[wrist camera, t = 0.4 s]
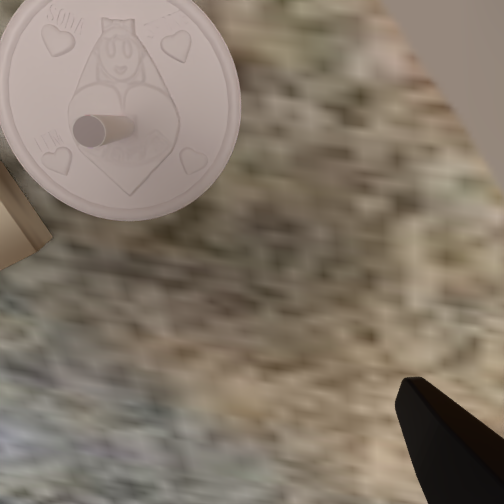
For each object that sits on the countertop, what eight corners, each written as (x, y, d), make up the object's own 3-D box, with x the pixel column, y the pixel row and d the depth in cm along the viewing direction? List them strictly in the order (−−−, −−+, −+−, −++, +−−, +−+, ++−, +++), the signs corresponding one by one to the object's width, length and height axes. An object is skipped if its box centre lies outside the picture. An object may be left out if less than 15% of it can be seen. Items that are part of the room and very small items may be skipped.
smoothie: (87, 178, 21) (-87, 285, 7) (72, 32, 19) (-196, -171, 6) (219, 178, 22) (271, 272, 8) (217, 39, 20) (283, -122, 6)
